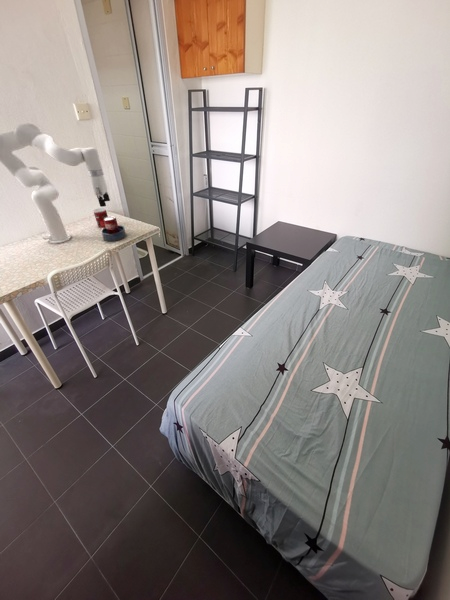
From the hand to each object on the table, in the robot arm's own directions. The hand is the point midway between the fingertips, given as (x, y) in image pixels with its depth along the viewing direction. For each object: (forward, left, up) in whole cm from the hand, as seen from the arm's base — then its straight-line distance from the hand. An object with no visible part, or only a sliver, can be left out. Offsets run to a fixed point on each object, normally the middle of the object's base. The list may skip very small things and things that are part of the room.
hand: (105, 203), depth 168 cm
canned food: (-4, +25, -22) cm, 33 cm away
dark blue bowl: (0, 0, -22) cm, 22 cm away
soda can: (0, 0, -21) cm, 21 cm away
